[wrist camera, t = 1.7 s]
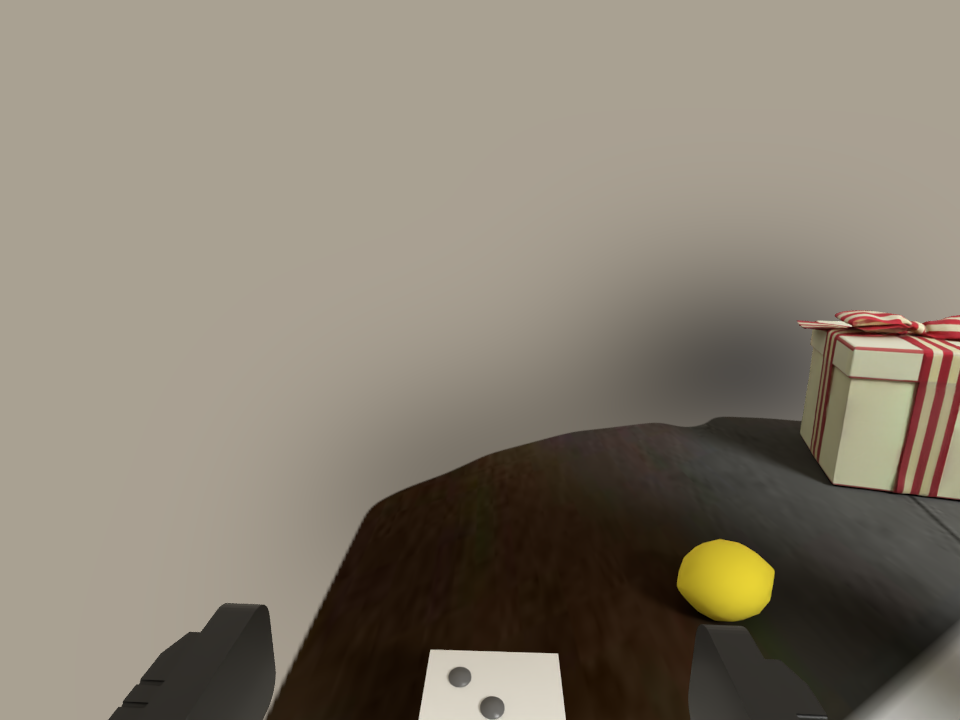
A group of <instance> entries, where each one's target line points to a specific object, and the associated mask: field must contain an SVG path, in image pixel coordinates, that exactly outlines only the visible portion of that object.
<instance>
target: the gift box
mask: <svg viewBox="0 0 960 720" xmlns="http://www.w3.org/2000/svg"><path fill="white" fill-rule="evenodd" d="M835 317H837V318H838V319H840V320H842V321H843V322H840V321H839V322H838V321H815V322H809V321H799V320H797V322H798V324H799V325H800V326H801V327H802V328H805V329H806V328H808V329H813V331H812V338H811V346H812V347H813V353H812V360H811V367H810V374H809V380H808V386H807V393H806V399H805V406H804V412H803V418H802V423H801V430H800V434H801V436H802V438H803V439H804V441H805V443H806V444H807V446H808V448H809V449H810V451H811V453H812V454H813V456H814V457H815V459H816V460H817V462H818V463H819V465H820V466H821V468H822V469H823V471H824V472H825V474H826V475H827V477H828V478H829V480H830V481H831V483H832V484H834V485H840V486H848V487H857V488H865V489H873V490H880V491H890V492H893V493H901V494H915V495H922V496H929V497H939V498H947V499H956V500H960V315H959V316H951V317H947V318H944V319H941V320H937V321H928V322H925V323H919V322H916V321H908V320H907V319H906V318H904V317H903V316H901V315H896V314H889V313H882V312H875V311H857V310H856V311H845V312H840V313H837V314H835Z"/></svg>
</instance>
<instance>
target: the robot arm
mask: <svg viewBox="0 0 960 720" xmlns="http://www.w3.org/2000/svg"><path fill="white" fill-rule="evenodd" d="M275 674H276V672H275V662H274V652H273V643H272V634H271V625H270V616H269V611H268V608H267V607H266V606H265V605H258V604H234V603H232V604H231V603H225V604H223V605H222V606H220V607H219V609H218V610H217V611H216V612H215V614H214V615H213V616H212V618H211V619H210V620H209V622H208V623H207V625H206V626H205V627H204V629H203V630H202V631H201V632H189V633H188V634H186V635H185V636H184V637H182V638H181V639H180V640H178V641H177V642H176V643H174V644H173V645H172V646H170V647H169V648H168V649H166V650H165V651H164V652H162V653H161V654H160V655H159V657H158V658H157V659H156V660H155V662H154V663H153V664H152V666H151V667H150V668H149V669H148V671H147V672H146V673H145V674H144V676H143V677H142V678H141V681H140V684H139V685H136V686H135V687H134V688H133V689H132V691H131V692H130V693H129V694H128V696H127V697H126V698H125V700H124V701H123V705H122V707H118V708H117V710H116V711H115V712H114V713H113V715H112V716H111V717H110V718H109V720H263V718H264V716H265V714H266V712H267V710H268V707H269V705H270V702H271V699H272V695H273V691H274V685H275ZM689 711H690V718H691V720H828V719H827V714H826V713H825V711H824V710H823V708H822V706H821V705H820V703H819V702H818V700H817V699H816V697H815V695H814V694H813V692H812V691H811V689H810V688H809V686H808V685H807V684H806V683H805V682H804V681H803V680H802V679H801V678H799V677H798V676H797V675H796V674H795V673H794V672H793V671H792V670H791V669H790V668H788V667H787V666H786V665H785V664H784V663H783V662H782V661H781V660H772V659H764V657H763V656H762V654H761V652H760V650H759V649H758V647H757V645H756V643H755V642H754V640H753V638H752V637H751V635H750V633H749V632H748V630H747V629H746V628H745V627H743V626H727V625H703V624H701V625H699V627H698V628H697V632H696V638H695V646H694V654H693V662H692V669H691V677H690V685H689Z"/></svg>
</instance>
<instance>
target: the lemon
mask: <svg viewBox="0 0 960 720" xmlns="http://www.w3.org/2000/svg"><path fill="white" fill-rule="evenodd" d="M774 574H775V572H774V569H773V568H772V567H771V566H770V565H769V564H768V563H767V562H766V561H765V560H764V559H763V558H761V557H760V556H759V555H758V554H757V553H756V552H754V551H752V550H751V549H749V548H748V547H746V546H744V545H742V544H740V543H738V542H732V541H727V540H722V539H718V540H714V541H710V542H706V543H702V544H701V545H699V546H697V547H695V548H694V549H693V550H692V551H690V552H689V553H688V554H687V555H686V556H685V557H684V558H683V561H682V564H681V566H680V569H679V573H678V579H677V588H678V590H679V591H680V593H681V594H682V595H683V597H684V598H685V599H686V600H687V601H688V602H689V603H690V604H691V605H692V606H693V607H694V608H695V609H696V610H697V611H698V612H700V613H701V614H703V615H705V616H707V617H709V618H711V619H713V620H714V621H731V622H734V621H740V620H744V619H747V618H749V617H752V616H754V615H757V614H759V613H760V612H761V611H762V610H763V608H764V607H765V606H766V605H767V604H768V602H769V601H770V598H771V592H772V587H773V580H774Z"/></svg>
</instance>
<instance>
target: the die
mask: <svg viewBox="0 0 960 720" xmlns="http://www.w3.org/2000/svg"><path fill="white" fill-rule="evenodd" d="M419 720H566V718H565V709H564V701H563V692H562V684H561V675H560V666H559V658H558V654H552V653H520V652H488V651H456V650H430V655H429V661H428V667H427V673H426V679H425V685H424V691H423V697H422V703H421V709H420V715H419Z"/></svg>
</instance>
